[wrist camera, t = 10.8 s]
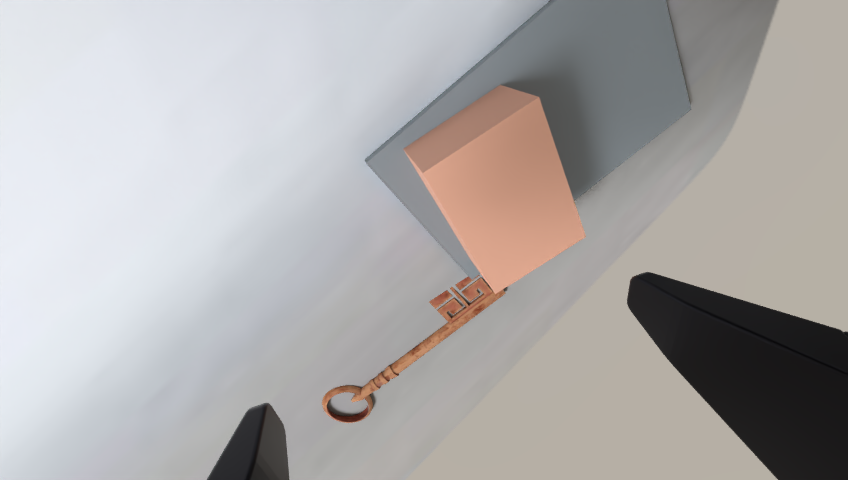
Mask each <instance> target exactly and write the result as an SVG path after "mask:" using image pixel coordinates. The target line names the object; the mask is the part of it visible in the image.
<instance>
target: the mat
mask: <svg viewBox="0 0 848 480" xmlns="http://www.w3.org/2000/svg"><path fill="white" fill-rule="evenodd" d="M499 85H502V86H505V87H509V88H512V89H515V90H518V91H522V92H525V93H528V94H531V95H534V96H538V97H539V98H540V101H541V104H542V107H543V110H544V113H545V116H546V119H547V122H548V125H549V128H550V131H551V134H552V137H553V140H554V143H555V146H556V149H557V152H558V155H559V158H560V161H561V164H562V167H563V170H564V173H565V176H566V179H567V182H568V185H569V188H570V191H571V194H572V197H573V200H575V199H577V198H578V197H579V196H581V195H582V194H583V193H584V192H586V191H587V190H588V189H590V188H591V187H592V186H593V185H595V184H596V183H597V182H598V181H600V180H601V179H602V178H604V177H605V176H606V175H607V174H609V173H610V172H611V171H613V170H614V169H615V168H616V167H618V166H619V165H620V164H622V163H623V162H624V161H625V160H627V159H628V158H629V157H631V156H632V155H633V154H634V153H636V152H637V151H638V150H640V149H641V148H642V147H643V146H645V145H646V144H647V143H649V142H650V141H651V140H652V139H654V138H655V137H656V136H658V135H659V134H660V133H661V132H663V131H664V130H665V129H667V128H668V127H669V126H670V125H672V124H673V123H674V122H675V121H677V120H678V119H679V118H681V117H682V116H683V115H684V114H686V113H687V112H688V111H690V110H691V106H690V102H689V97H688V93H687V89H686V84H685V80H684V76H683V71H682V67H681V63H680V58H679V54H678V50H677V46H676V41H675V37H674V33H673V28H672V24H671V20H670V15H669V11H668V7H667V2H666V0H551V1H550V2H548V3H547V4H546V5H545V6H544V7H543V8H541V9H540V10H539V11H538V12H537V13H536V14H534V15H533V16H532V17H531V18H530V19H529V20H527V21H526V22H525V23H524V24H523V25H522V26H520V27H519V28H518V29H517V30H516V31H515V32H513V33H512V34H511V35H510V36H509V37H508V38H506V39H505V40H504V41H503V42H502V43H501V44H499V45H498V46H497V47H496V48H495V49H494V50H492V51H491V52H490V53H489V54H488V55H487V56H485V57H484V58H483V59H482V60H481V61H480V62H478V63H477V64H476V65H475V66H474V67H473V68H471V69H470V70H469V71H468V72H467V73H466V74H464V75H463V76H462V77H461V78H460V79H459V80H457V81H456V82H455V83H454V84H453V85H452V86H450V87H449V88H448V89H447V90H446V91H445V92H443V93H442V94H441V95H440V96H439V97H438V98H436V99H435V100H434V101H433V102H432V103H431V104H429V105H428V106H427V107H426V108H425V109H424V110H422V111H421V112H420V113H419V114H418V115H417V116H415V117H414V118H413V119H412V120H411V121H410V122H408V123H407V124H406V125H405V126H404V127H403V128H401V129H400V130H399V131H398V132H397V133H396V134H394V135H393V136H392V137H391V138H390V139H389V140H387V141H386V142H385V143H384V144H383V145H382V146H380V147H379V148H378V149H377V150H376V151H375V152H373V153H372V154H371V155H370V156H369V157H368V158H366V159H365V162H366V164H367V165H368V166H369V167H370V168H371V169H372V170H373V171H374V172H375V174H376V175H377V176H378V177H379V178H380V179H381V180H382V181H383V182H384V183H385V185H386V186H387V187H388V188H389V189H390V190H391V191H392V192H393V193H394V195H395V196H396V197H397V198H398V199H399V200H400V201H401V202H402V203H403V204H404V206H405V207H406V208H407V209H408V210H409V211H410V212H411V213H412V214H413V216H414V217H415V218H416V219H417V220H418V221H419V222H420V223H421V224H422V225H423V227H424V228H425V229H426V230H427V231H428V232H429V233H430V234H431V235H432V236H433V238H434V239H435V240H436V241H437V242H438V243H439V244H440V245H441V246H442V248H443V249H444V250H445V251H446V252H447V253H448V254H449V255H450V256H451V257H452V259H453V260H454V261H455V262H456V263H457V264H458V265H459V266H460V267H461V269H462V270H463V271H464V272H465V273H466V274H467V275H468V276H469V277H470V278H471V280H473V279H474V278H475V277H477V276H478V275H479V274H480V272H479V271H478V269H477V268H476V266H475V265H474V264H473V262H472V261H471V259H470V258H469V256H468V255H467V253H466V251H465V250H464V248H463V246H462V245H461V243H460V241H459V240H458V238H457V236H456V235H455V233H454V232H453V230H452V228H451V227H450V225H449V223H448V222H447V220H446V218H445V217H444V215H443V214H442V212H441V210H440V209H439V207H438V205H437V204H436V202H435V200H434V199H433V197H432V196H431V194H430V192H429V191H428V189H427V187H426V186H425V184H424V182H423V181H422V179H421V177H420V176H419V174H418V173H417V171H416V169H415V168H414V166H413V164H412V163H411V161H410V159H409V158H408V156H407V155H406V153H405V151H404V150H403V149H404V148H405V147H407V146H408V145H410V144H411V143H413V142H414V141H416V140H417V139H419V138H420V137H422V136H423V135H425V134H426V133H428V132H429V131H431V130H432V129H434V128H435V127H437V126H438V125H440V124H441V123H443V122H445V121H446V120H448V119H449V118H451V117H452V116H454V115H455V114H457V113H458V112H460V111H461V110H463V109H464V108H466V107H467V106H469V105H470V104H472V103H473V102H475V101H476V100H478V99H479V98H481V97H482V96H484V95H485V94H487V93H488V92H490V91H492V90H493V89H495V88H496V87H498V86H499Z"/></svg>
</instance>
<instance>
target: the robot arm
mask: <svg viewBox="0 0 848 480" xmlns="http://www.w3.org/2000/svg"><path fill="white" fill-rule="evenodd" d="M627 304H628V307H629V309H630V310H631V312H632V313H633V314H634V316H635V317H636V318H637V320H638V321H639V322H640V324H641V325H642V326H643V328H644V329H645V330H646V332H647V333H648V334H649V336H650V337H651V338H652V339H653V341H654V342H655V344H656V345H657V346H658V347H659V349H660V350H661V351H662V353H663V354H664V355H665V356H666V358H667V359H668V360H669V361H670V362H671V364H672V365H673V366H674V367H675V368H676V369H677V370H678V371H679V373H680V374H681V375H682V376H683V377H684V378H685V379H686V380H687V381H688V382H689V383H690V385H691V386H692V387H693V388H694V389H695V390H696V391H697V392H698V393H699V394H700V395H701V396H702V397H703V399H704V400H705V401H706V402H707V403H708V404H709V405H710V406H711V407H712V408H713V409H714V411H715V412H716V413H717V414H718V415H719V416H720V417H721V418H722V419H723V420H724V422H725V423H726V424H727V425H728V426H729V427H730V428H731V429H732V430H733V431H734V432H735V433H736V435H737V436H738V437H739V438H740V439H741V440H742V441H743V442H744V443H745V444H746V445H747V447H748V448H749V449H750V450H751V451H752V452H753V453H754V454H755V455H756V456H757V457H758V459H759V460H760V461H761V462H762V463H763V464H764V465H765V466H766V467H767V468H768V469H769V470H770V471H771V473H772V474H773V475H774V476H775V477H776V478H777V479H778V480H848V332H842V331H841V330H839V329H836V328H833V327H829V326H826V325H823V324H819V323H816V322H813V321H809V320H806V319H803V318H799V317H796V316H793V315H790V314H786V313H783V312H780V311H776V310H773V309H770V308H766V307H763V306H760V305H756V304H753V303H750V302H747V301H743V300H740V299H736V298H733V297H730V296H727V295H723V294H720V293H717V292H714V291H710V290H707V289H704V288H700V287H697V286H694V285H690V284H687V283H684V282H680V281H677V280H674V279H670V278H667V277H664V276H661V275H657V274H654V273H650V272H646V273H642V274H639V275H636V276H634V277H632V279H631V280H630V286H629V292H628V298H627ZM207 480H289V469H288V457H287V446H286V434H285V429H284V425H283V423H282V421H281V420H280V418H279V417H278V415H277V414H276V412H275V411H274V409H273V408H272V406H271V405H270V404H269V403H264V404H261V405H258V406H255V407H252V408H250V409H249V410H248V411H247V412H246V413H245V415H244V417H243V419H242V420H241V422H240V424H239V425H238V427H237V429H236V430H235V432H234V434H233V436H232V437H231V439H230V441H229V442H228V444H227V446H226V448H225V449H224V451H223V453H222V454H221V456H220V458H219V460H218V461H217V463H216V465H215V466H214V468H213V470H212V472H211V473H210V475H209V477H208V478H207Z"/></svg>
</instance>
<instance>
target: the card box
mask: <svg viewBox="0 0 848 480" xmlns="http://www.w3.org/2000/svg"><path fill="white" fill-rule="evenodd" d="M403 150H404V151H405V153H406V155H407V156H408V158H409V159H410V161H411V163H412V164H413V166H414V168H415V169H416V171H417V173H418V174H419V176H420V177H421V179H422V181H423V182H424V184H425V186H426V187H427V189H428V191H429V192H430V194H431V196H432V197H433V199H434V200H435V202H436V204H437V205H438V207H439V209H440V210H441V212H442V214H443V215H444V217H445V218H446V220H447V222H448V223H449V225H450V227H451V228H452V230H453V232H454V233H455V235H456V236H457V238H458V240H459V241H460V243H461V245H462V246H463V248H464V250H465V251H466V253H467V255H468V256H469V258H470V259H471V261H472V262H473V264H474V265H475V266H476V268H477V269H478V271H479V272H480V273H481V275H482V276H483V278H484V279H485V280H486V282H487V283H488V285H489V286H490V287H491V289H492V290H493V292H494V293H495V294H496V293H498V292H500V291H501V290H503V289H504V288H506V287H507V286H509V285H511V284H512V283H514V282H515V281H517V280H519V279H520V278H522V277H523V276H525V275H526V274H528V273H530V272H531V271H533V270H534V269H536V268H537V267H539V266H541V265H542V264H544V263H545V262H547V261H548V260H550V259H552V258H553V257H555V256H556V255H558V254H560V253H561V252H563V251H564V250H566V249H567V248H569V247H571V246H572V245H574V244H575V243H577V242H578V241H580V240H582V239H583V238H585V237H586V235H585V232H584V229H583V226H582V223H581V221H580V218H579V215H578V212H577V209H576V206H575V203H574V200H573V197H572V194H571V191H570V188H569V185H568V182H567V179H566V176H565V173H564V170H563V167H562V164H561V161H560V158H559V155H558V152H557V149H556V146H555V143H554V140H553V137H552V134H551V131H550V128H549V125H548V122H547V119H546V116H545V113H544V110H543V107H542V104H541V101H540V98H539V97H538V96H534V95H531V94H528V93H525V92H522V91H518V90H515V89H512V88H509V87H505V86H502V85H499V86H498V87H496V88H495V89H493V90H492V91H490V92H488V93H487V94H485V95H484V96H482V97H481V98H479V99H478V100H476V101H475V102H473V103H472V104H470V105H469V106H467V107H466V108H464V109H463V110H461V111H460V112H458V113H457V114H455V115H454V116H452V117H451V118H449V119H448V120H446V121H445V122H443V123H441V124H440V125H438V126H437V127H435V128H434V129H432V130H431V131H429V132H428V133H426V134H425V135H423V136H422V137H420V138H419V139H417V140H416V141H414V142H413V143H411V144H410V145H408V146H407V147H405V148H404V149H403Z"/></svg>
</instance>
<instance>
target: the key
mask: <svg viewBox="0 0 848 480" xmlns="http://www.w3.org/2000/svg"><path fill="white" fill-rule="evenodd" d="M478 276H479V275H478ZM478 276H477V277H478ZM477 277H475V278H477ZM475 278H474V279H475ZM474 279H473V280H474ZM473 280H471V278H470V277H469V276H468V277H467V278H465V279H464V280H462V281H461V282H459V283H457V284H456V286H457V287H458V289H459V290H461V289H462V288H464V287H465V286H466V285H467V284H469V283H470V282H471V281H473ZM478 288H479V289H480V290H481V291H482V292H483V294H482V295H481V296H479V297H478V298H477V299H475V300H474V301H473V302H471V301H472V300H473V299H474V298H476V297H477V296H478V295H480V294H479V293H478V292H477V289H478ZM450 289H451V290H452V291H453V292H454V294H455V295H456V296H457V297H458V298H459V299H460V300H461V301H462V302H463V304H464V305H465V306H466V307H464V308H463V309H461V308H462V306H461V305H460V304H459V303H458V302H457V301H456V300H455V299H454V298H453V299H451V300H450V301H449V302H447V303H446V304H445V305H443V306H442V307H441V308H439V309H438V310H437V311H438V312H439V313H440V314H441V315H442V316H443V317H444V318H445V319H446V320H447V321H448V323H447V324H445V325H444V326H443V327H441V328H440V329H439V330H437V331H436V332H435V333H433V334H432V335H431V336H429V337H428V338H427V339H425V340H424V341H423V342H421V343H420V344H419V345H417V346H416V347H415V348H413V349H412V350H411V351H409V352H408V353H407V354H405V355H404V356H403V357H401V358H400V359H399V360H397V361H396V362H395V363H393V364H392V365H391V366H390V365H389V366H388V367H387V368H386V369H385V371H384V372H381V373H380V374H378V376H377V377H376V378H374V379H372V380H370V381H369V383H367V384H366V385H365V386H363V387H362V388H359V387H356V386H340V387H337V388H334V389H332V390H330V391H329V392H328V393H326V395H325V396H324V398H323V400H322V405H323V409H324V411H325V412H326V413H327V415H328V416H330V417H331V418H333V419H334V420H337V421H340V422H344V423H353V422H358V421H361V420H363V419H364V418H366V417H367V416H368V415H369V414H370V412H371V410H372V407H373V402H372V399H371V397H370V394H371V393H372V392H374V391H375V390H378V389H379V388H380V387H381V386H382V385H383V384H386V383H387V382H389V381H390V379H393V378H395V377H397V376H398V375H399V373H400V372H401V371H403V370H404V369H405V368H407V367H408V366H409V365H411V364H412V363H413V362H415V361H416V360H417V359H419V358H420V357H421V356H423V355H424V354H425V353H427V352H428V351H429V350H431V349H432V348H433V347H435V346H436V345H437V344H439V343H440V342H441V341H443V340H444V339H445V338H447V337H448V336H449V335H451V334H452V333H453V332H455V331H456V330H457V329H459V328H460V327H461V326H463V325H464V324H465V323H467V322H468V321H469V320H471V319H472V318H473V317H475V316H476V315H477V314H479V313H480V312H481V311H483V310H484V309H485V308H487V307H488V306H489V305H491V304H492V303H493V302H495V301H496V300H497V299H499V298H500V297H501V296H503V295H504V294H505V292H504V291H503V290H501V291H500V292H498V293H496V294H495V293H494V292H493V290H491V289H490V288H489V287H488V285H487V284H486V283H485V282H484V280H483V279H482V278H479V279H478V280H477V281H475V282H474V283H473V284H471V285H470V286H469V287H467V288H466V289H465V290H463V291H462V293H463V294H464V295H465V297H466V298H467V299H468V300H469V301H470V302H471V303H470V304H469V305H468V304H467V303H466V301H465V300H464V299H463V298H462V297H461V296H460V295H459V294H458V293H457V292H456V291H455V289H454V288H453V287H451V288H450ZM450 297H452V295H451V294H450V293H449V292H448V291H445V292H443V293H442V294H440V295H439V296H437V297H436V298H434V299H432V300H431V301H429V302H430V304H431V305H432V306H433V307H434V308H435V309H436V308H437V307H439V306H440V305H441V304H443V303H444V302H445V301H446V300H448V299H449V298H450ZM460 309H461V310H460ZM459 310H460V311H459ZM448 311H450V313H451V314H452V315H453V314H455V313H456V312H457V311H459V312H457V313H456V314H455V315H453V316H452V317H450V316H449V315H448V314H447V312H448ZM343 392H350V393H355V395H354V397H353V398H352V400H351V401H352V402H355V401H359V400H363V399H364V398H365V400H366V401H367V402H368V406H367V408H366V409H365V410H364V411H363V412H361V413H359V414H357V415H354V416H340V415H336V414H334V413H332V412H331V411H330V410H329V409H328V408H327V403H328V401H329V400H330V398H332V397H333V396H334V395H336V394H339V393H343Z"/></svg>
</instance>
